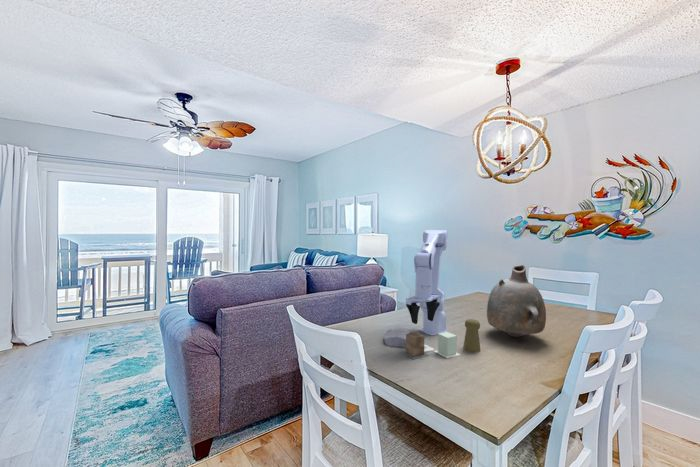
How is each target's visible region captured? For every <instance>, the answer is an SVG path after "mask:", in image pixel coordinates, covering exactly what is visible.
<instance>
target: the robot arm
mask: <svg viewBox="0 0 700 467" xmlns="http://www.w3.org/2000/svg"><path fill="white" fill-rule="evenodd" d="M422 241H423V244H422V245H421V246H420V249H419V251H418V252H417V253H415V254H414V258H413V265H414V273H415V285H414V286H415V290H414V291H415V292H414V293H415V295H414V296H409V297H408V298H405V306H406V308H407V310H408V313H409V315H410V318H411V319H410V320H411V323H413V324H414V325H417V324H418V320H419V311H420V309H421V311H422V315H423V316H422V327H420V328H418V331H420V332H422V333H425V334H427V335H428V336H435V335H437V336H438V334H439V333H444V332H448V330H447V315H446V313H445V311H444V310H445V307H446V306H445V305H446V304H445V303H446V302H445V300H446V299H445V293H444V292H443V291H442V290H441V289H440V288H439V286H440V285H439V284H440V272H441V270H440V269H441V260H442V259H441V256H442V253H443V252H444V251H446V250H447V247H448V231H447V229H442V230H441V229H424V230H423V234H422ZM418 304H419V305H418Z"/></svg>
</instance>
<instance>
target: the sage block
mask: <svg viewBox="0 0 700 467" xmlns="http://www.w3.org/2000/svg"><path fill="white" fill-rule="evenodd" d="M457 341H458V335H455V334H453V333H451V332H448V331H447V332H444V333H439V334H437V350H438V352H440V353H441V354H443V355H445V356H451V355H455V354H456V353H458V352H457V349H458V348H457V346H458V345H457V343H458V342H457Z"/></svg>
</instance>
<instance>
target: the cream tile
mask: <svg viewBox="0 0 700 467" xmlns="http://www.w3.org/2000/svg"><path fill="white" fill-rule="evenodd" d="M429 351H435V348H433V347H431V346H429V345H427V344H425V343H424V353H426V352H429Z"/></svg>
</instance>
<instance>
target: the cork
mask: <svg viewBox="0 0 700 467" xmlns="http://www.w3.org/2000/svg"><path fill="white" fill-rule="evenodd" d="M464 326H465V335H464V340H463V347H462V348H463V350H465V351H466V352H468V353H479V352H481V342H480V341H481V340H480V334H479V333H480V331H479V330H480V327H481V324H480V321H479V320H477V319H474V318H467V319H466V320H465V321H464Z"/></svg>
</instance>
